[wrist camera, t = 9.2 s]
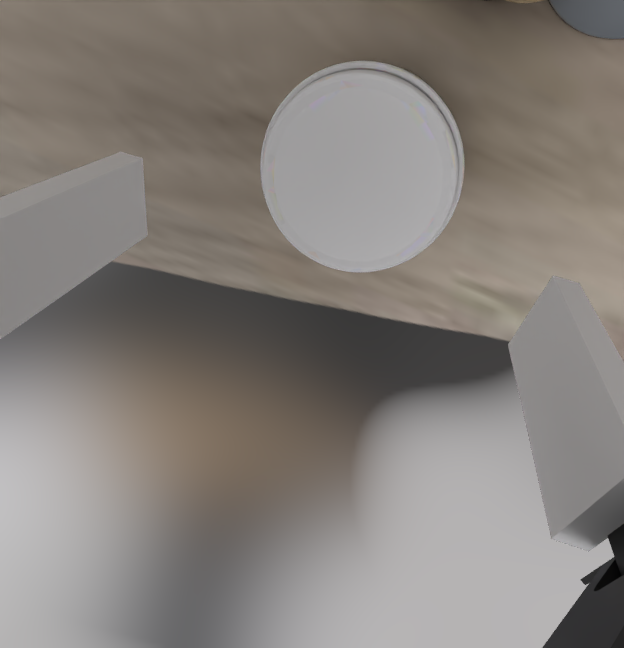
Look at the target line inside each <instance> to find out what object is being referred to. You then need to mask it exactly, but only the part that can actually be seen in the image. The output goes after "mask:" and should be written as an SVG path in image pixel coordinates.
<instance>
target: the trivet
mask: <svg viewBox="0 0 624 648" xmlns="http://www.w3.org/2000/svg"><path fill="white" fill-rule="evenodd" d="M548 1H549V3H550V5H551V6H552V8H553V9H554V11H555V12H556V14H557V15H558V16H559V17H560V18H561V19H562V20H563V21H564V22H565V23H567V24H568V25H569V26H571V27H572V28H574V29H575V30H578V31H580V32H582V33H584V34H587V35H591V36H594V37H600V38H609V39H619V38H624V0H548Z"/></svg>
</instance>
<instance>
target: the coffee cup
mask: <svg viewBox="0 0 624 648" xmlns="http://www.w3.org/2000/svg"><path fill="white" fill-rule="evenodd" d="M464 168H465V166H464V151H463V144H462V140H461V136H460V132H459V130H458V127H457V125H456V122H455V120H454V118H453V116H452V114H451V112H450V110H449V109H448V107H447V106H446V104H445V103H444V101H443V100H442V99H441V97H440V96H439V95H438V94H437V93H436V92H435V91H434V90H433V89H432V88H431V87H430V86H429V85H428V84H426V83H425V82H424V81H423V80H422V79H421V78H420V77H418V76H417V75H415V74H414V73H412V72H410V71H408V70H406V69H403V68H401V67H396V66H393V65H390V64H387V63H381V62H376V61H349V62H344V63H339V64H335V65H332V66H330V67H327V68H324V69H322V70H320V71H318V72H316V73H314V74H312V75H311V76H309V77H308V78H306V79H305V80H303V81H302V82H301V83H300V84H298V85H297V86H296V87H295V88H294V89H293V90H292V91H291V92H290V93H289V94H288V95H287V96H286V98H285V99H284V100H283V101H282V103H281V104H280V105H279V107H278V108H277V110H276V112H275V113H274V115H273V117H272V119H271V121H270V123H269V125H268V128H267V131H266V134H265V137H264V141H263V146H262V152H261V163H260V172H261V183H262V188H263V193H264V196H265V200H266V203H267V206H268V208H269V211H270V213H271V215H272V217H273V219H274V221H275V223H276V225H277V226H278V228H279V229H280V231H281V232H282V234H283V235H284V236H285V238H286V239H287V240H288V241H289V242H290V243H291V244H292V245H293V246H294V247H295V248H296V249H298V250H299V251H300V252H301V253H303V254H304V255H306V256H307V257H309V258H310V259H312V260H314V261H315V262H318V263H320V264H322V265H324V266H327V267H330V268H333V269H337V270H341V271H347V272H373V271H379V270H383V269H388V268H391V267H393V266H396V265H399V264H401V263H404V262H406V261H408V260H410V259H411V258H413V257H415V256H416V255H418V254H419V253H421V252H422V251H423V250H425V249H426V248H427V247H428V246H429V245H430V244H431V243H433V242H434V240H435V239H436V238H437V237H438V236H439V235H440V234H441V232H442V231H443V230H444V228H445V227H446V225H447V224H448V222H449V220H450V219H451V217H452V215H453V213H454V211H455V208H456V206H457V204H458V200H459V197H460V194H461V190H462V185H463V180H464Z"/></svg>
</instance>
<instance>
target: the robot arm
mask: <svg viewBox="0 0 624 648" xmlns="http://www.w3.org/2000/svg"><path fill="white" fill-rule="evenodd" d="M146 236H148V235H147V219H146V203H145V187H144V171H143V158H141V157H138V156H134V155H131V154H127V153H124V152H118V153H116V154H113V155H111V156H108V157H105V158H103V159H100V160H97V161H95V162H92V163H89V164H87V165H84V166H81V167H79V168H76V169H74V170H71V171H68V172H66V173H63V174H60V175H58V176H55V177H52V178H50V179H47V180H45V181H42V182H39V183H37V184H34V185H31V186H29V187H26V188H23V189H21V190H18V191H16V192H13V193H10V194H8V195H5V196H2V197H0V339H1V338H3V337H4V336H5V335H7V334H8V333H10V332H11V331H13V330H14V329H16V328H17V327H18V326H20V325H21V324H23V323H24V322H26V321H27V320H28V319H30V318H31V317H33V316H34V315H35V314H37V313H38V312H40V311H41V310H43V309H44V308H45V307H47V306H48V305H50V304H51V303H53V302H54V301H55V300H57V299H58V298H60V297H61V296H62V295H64V294H65V293H67V292H68V291H69V290H71V289H72V288H74V287H75V286H77V285H78V284H79V283H81V282H82V281H84V280H85V279H87V278H88V277H89V276H91V275H92V274H94V273H95V272H96V271H98V270H99V269H101V268H102V267H104V266H105V265H107V264H108V263H109V262H111V261H112V260H114V259H115V258H117V257H118V256H119V255H121V254H122V253H124V252H125V251H126V250H128V249H129V248H131V247H132V246H134V245H135V244H136V243H138V242H139V241H141V240H142V239H144V238H145V237H146ZM508 347H509V351H510V356H511V360H512V365H513V369H514V374H515V378H516V383H517V387H518V391H519V395H520V400H521V405H522V409H523V413H524V418H525V422H526V427H527V432H528V436H529V441H530V444H531V450H532V454H533V459H534V463H535V467H536V472H537V476H538V481H539V485H540V490H541V494H542V499H543V503H544V507H545V512H546V516H547V521H548V526H549V530H550V535H551V538H552V539H554V540H557V541H559V542H562V543H565V544H569V545H571V546H574V547H577V548H580V549H583V550H586V551H590V550H591V549H593V548H594V547H596V546H597V545H598V544H600V543H601V542H602V541H604V540H605V539H607V538H608V539H609V541H610V544H611V547H612V550H613V553H614V556H615V557H614V558H612V559H611V560H609V561H608V562H606V563H605V564H603V565H602V566H600V567H599V568H597V569H596V570H594V571H593V572H591V573H590V574H588V575H587V576H585V577H584V578H582V579H581V581H582V582H583V583H584V584H585V585H586V584H588V583H589V585H588V586H587V587H586V589H585V590H584V591H583V593H582V594H581V596H580V597H579V598H578V600H577V601H576V602H575V604H574V605H573V607H572V608H571V609H570V611H569V612H568V614H567V615H566V616H565V617H564V619H563V620H562V622H561V623H560V624H559V626H558V627H557V629H556V630H555V631H554V632H553V634H552V635H551V637H550V638H549V639H548V641H547V642H546V644H545V645H544V646H543V648H624V362H623V360H622V358H621V356H620V355H619V353H618V351H617V349H616V347H615V346H614V344H613V342H612V340H611V339H610V337H609V335H608V333H607V331H606V330H605V328H604V326H603V324H602V323H601V321H600V319H599V317H598V315H597V314H596V312H595V310H594V308H593V307H592V305H591V303H590V301H589V299H588V298H587V296H586V294H585V292H584V290H583V289H582V287H581V285H580V283H578V282H574V281H571V280H567V279H564V278H560V277H557V276H552V278H551V279H550V281H549V282H548V284H547V286H546V287H545V289H544V290H543V292H542V293H541V295H540V296H539V298H538V299H537V301H536V303H535V304H534V306H533V307H532V309H531V310H530V312H529V313H528V315H527V316H526V318H525V320H524V321H523V323H522V324H521V326H520V327H519V329H518V330H517V332H516V333H515V335H514V337H513V338H512V340H511V341H510V343H509V344H508Z"/></svg>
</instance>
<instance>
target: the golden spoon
mask: <svg viewBox="0 0 624 648" xmlns="http://www.w3.org/2000/svg"><path fill="white" fill-rule="evenodd" d="M506 1H510V2H514V3H533V2H538V1H542V0H506Z"/></svg>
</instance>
